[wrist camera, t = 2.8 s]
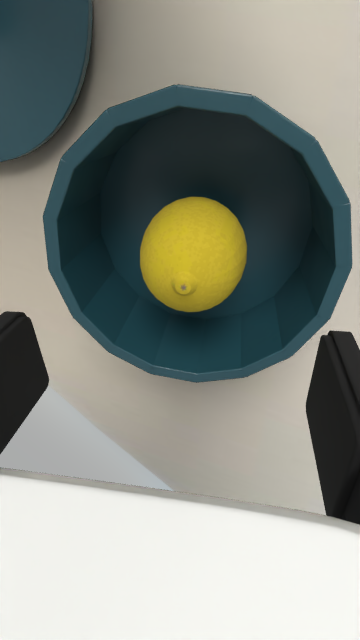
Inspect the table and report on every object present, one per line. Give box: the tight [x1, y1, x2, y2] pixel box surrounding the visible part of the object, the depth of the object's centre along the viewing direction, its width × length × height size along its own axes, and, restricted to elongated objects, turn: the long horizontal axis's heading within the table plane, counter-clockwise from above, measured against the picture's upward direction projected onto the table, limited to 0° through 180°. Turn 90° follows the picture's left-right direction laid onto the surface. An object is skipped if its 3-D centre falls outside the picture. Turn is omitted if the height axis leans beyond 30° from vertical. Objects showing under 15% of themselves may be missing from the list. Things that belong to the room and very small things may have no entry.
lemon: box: [140, 197, 247, 312], centre depth 18 cm, size 6×6×8 cm
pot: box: [43, 84, 352, 383], centre depth 19 cm, size 14×14×6 cm
